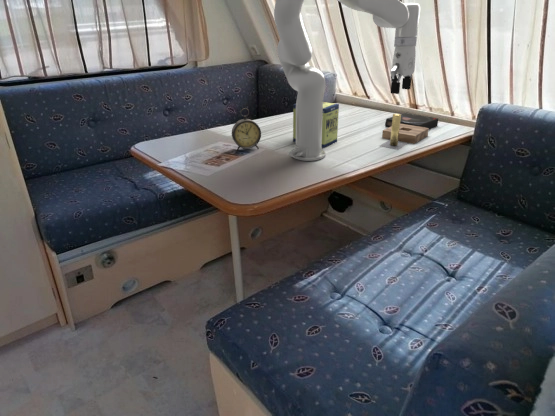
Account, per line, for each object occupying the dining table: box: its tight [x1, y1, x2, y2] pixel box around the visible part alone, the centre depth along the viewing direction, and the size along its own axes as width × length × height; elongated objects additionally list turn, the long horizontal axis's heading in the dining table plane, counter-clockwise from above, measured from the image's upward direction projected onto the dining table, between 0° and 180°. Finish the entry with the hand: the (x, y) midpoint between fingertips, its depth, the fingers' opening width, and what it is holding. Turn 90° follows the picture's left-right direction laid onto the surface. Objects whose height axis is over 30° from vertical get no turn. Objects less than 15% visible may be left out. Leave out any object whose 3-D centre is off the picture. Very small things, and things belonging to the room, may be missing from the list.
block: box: [381, 124, 430, 145], centre depth 171 cm, size 14×14×4 cm
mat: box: [379, 139, 410, 151], centre depth 162 cm, size 10×8×1 cm
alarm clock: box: [231, 107, 262, 152], centre depth 158 cm, size 11×5×16 cm, turn 105°
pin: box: [389, 113, 402, 146], centre depth 159 cm, size 3×3×12 cm
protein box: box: [292, 101, 340, 149], centre depth 165 cm, size 10×16×16 cm
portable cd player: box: [384, 112, 439, 130], centre depth 186 cm, size 16×17×4 cm
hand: (400, 91), depth 153 cm, fingers open, 9 cm apart
